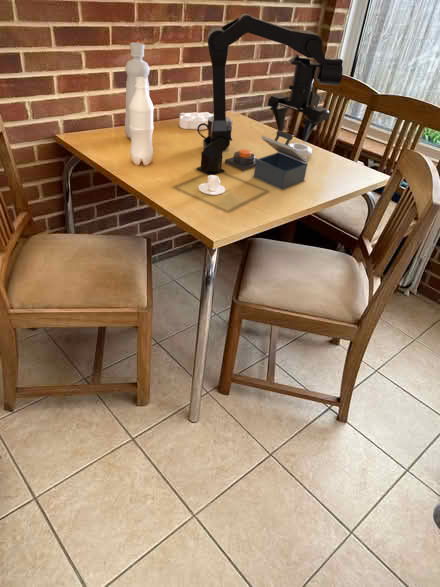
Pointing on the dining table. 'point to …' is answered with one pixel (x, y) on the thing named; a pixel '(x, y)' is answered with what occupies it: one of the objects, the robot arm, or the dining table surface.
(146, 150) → the water bottle
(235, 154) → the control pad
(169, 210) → the dining table surface
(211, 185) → the teacup and saucer
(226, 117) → the coffee mug
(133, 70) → the bottle
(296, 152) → the grey box lid
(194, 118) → the white egg tray
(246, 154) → the button
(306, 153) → the donut
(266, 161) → the dark grey case
